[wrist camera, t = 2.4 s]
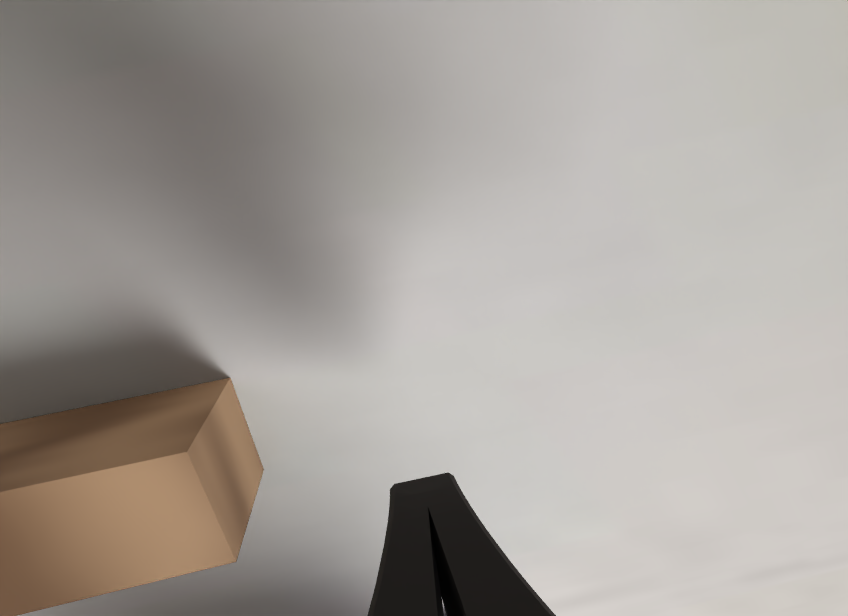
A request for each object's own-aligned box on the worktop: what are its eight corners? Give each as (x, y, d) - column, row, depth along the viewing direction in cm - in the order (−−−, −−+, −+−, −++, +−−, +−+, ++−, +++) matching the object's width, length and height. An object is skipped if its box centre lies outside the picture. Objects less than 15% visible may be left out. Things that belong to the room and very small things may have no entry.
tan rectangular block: (232, 373, 12) (186, 451, 9) (265, 464, 14) (236, 561, 10) (-126, 445, 11) (-323, 561, 8) (-54, 535, 13) (-199, 667, 9)
